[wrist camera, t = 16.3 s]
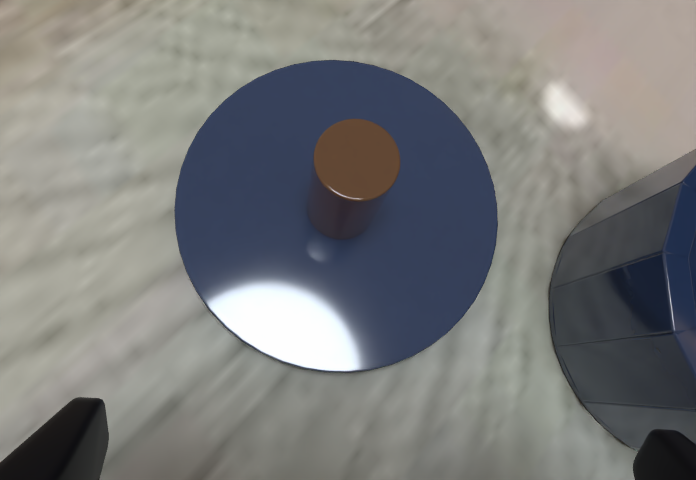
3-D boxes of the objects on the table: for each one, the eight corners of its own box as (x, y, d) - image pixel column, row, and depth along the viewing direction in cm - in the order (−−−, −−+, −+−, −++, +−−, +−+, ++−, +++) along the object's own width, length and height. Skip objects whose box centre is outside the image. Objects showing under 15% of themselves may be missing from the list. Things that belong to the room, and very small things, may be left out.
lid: (547, 210, 24) (632, 157, 18) (348, 444, 21) (374, 469, 16) (329, 19, 25) (344, -91, 19) (110, 217, 22) (49, 160, 16)
